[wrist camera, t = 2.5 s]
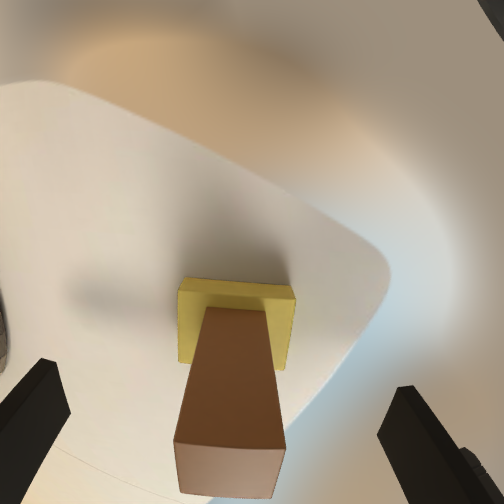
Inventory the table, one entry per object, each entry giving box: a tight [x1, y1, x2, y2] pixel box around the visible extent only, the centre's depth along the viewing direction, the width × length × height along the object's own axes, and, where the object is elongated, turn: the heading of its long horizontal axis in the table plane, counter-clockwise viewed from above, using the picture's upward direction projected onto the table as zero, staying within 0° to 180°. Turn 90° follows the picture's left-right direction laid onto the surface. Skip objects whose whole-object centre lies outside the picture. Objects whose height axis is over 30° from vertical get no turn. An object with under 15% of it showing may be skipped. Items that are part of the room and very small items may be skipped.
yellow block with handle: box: [173, 277, 296, 499], centre depth 13 cm, size 6×4×11 cm
